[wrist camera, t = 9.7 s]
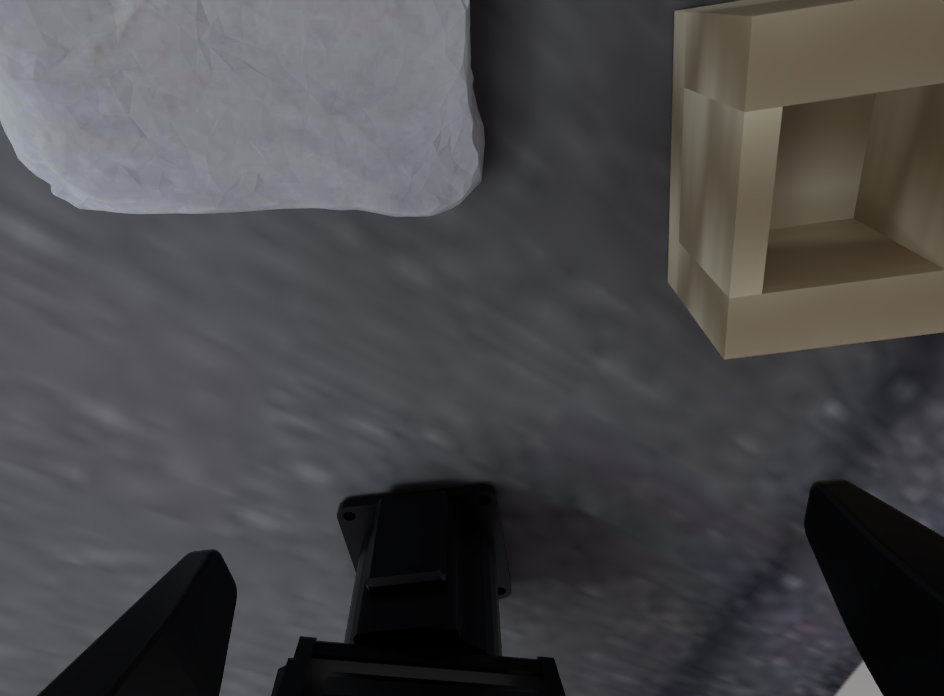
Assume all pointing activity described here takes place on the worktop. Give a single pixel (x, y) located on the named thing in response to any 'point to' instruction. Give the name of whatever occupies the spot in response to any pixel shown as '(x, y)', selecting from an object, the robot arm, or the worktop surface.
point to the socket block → (808, 172)
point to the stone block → (243, 103)
